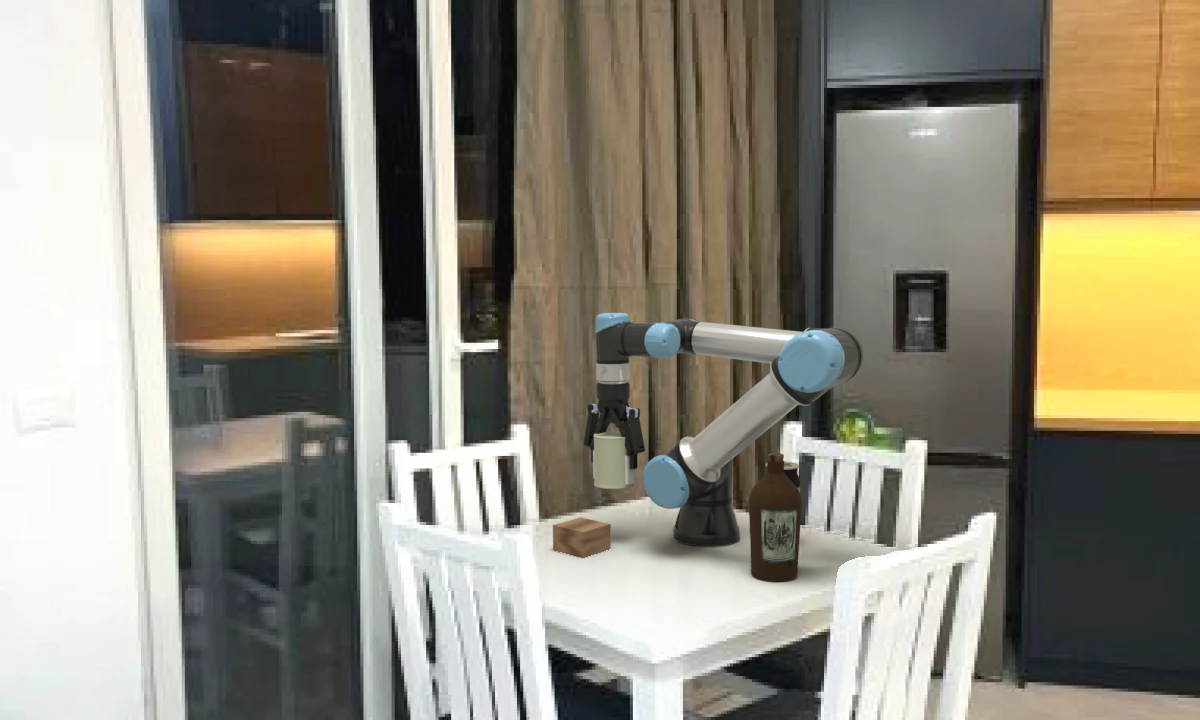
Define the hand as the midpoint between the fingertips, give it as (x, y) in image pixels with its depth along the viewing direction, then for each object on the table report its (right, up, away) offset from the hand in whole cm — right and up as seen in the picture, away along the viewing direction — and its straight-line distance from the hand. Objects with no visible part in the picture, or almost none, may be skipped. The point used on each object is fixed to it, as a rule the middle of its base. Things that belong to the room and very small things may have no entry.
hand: (614, 480), depth 243 cm
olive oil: (+32, -17, -25) cm, 44 cm away
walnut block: (-7, -15, -6) cm, 18 cm away
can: (0, -1, 0) cm, 1 cm away
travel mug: (+38, -14, -1) cm, 40 cm away
